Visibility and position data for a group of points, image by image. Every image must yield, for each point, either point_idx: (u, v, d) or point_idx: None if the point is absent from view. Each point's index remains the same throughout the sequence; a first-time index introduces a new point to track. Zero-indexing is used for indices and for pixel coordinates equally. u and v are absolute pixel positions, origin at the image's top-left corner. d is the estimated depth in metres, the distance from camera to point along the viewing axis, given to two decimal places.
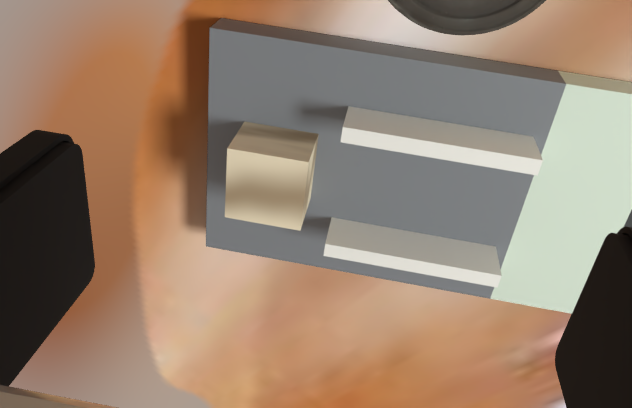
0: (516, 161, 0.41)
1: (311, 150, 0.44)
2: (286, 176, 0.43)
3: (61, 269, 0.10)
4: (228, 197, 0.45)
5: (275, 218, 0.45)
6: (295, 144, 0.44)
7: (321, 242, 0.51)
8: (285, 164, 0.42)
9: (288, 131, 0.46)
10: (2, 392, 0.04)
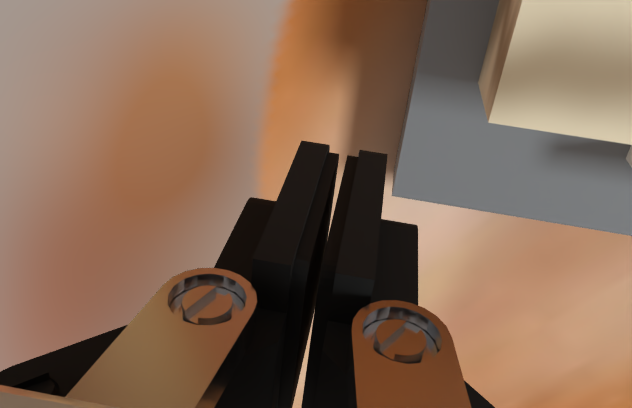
0: None
1: None
2: None
3: (320, 270, 0.11)
4: (505, 79, 0.23)
5: (593, 122, 0.23)
6: None
7: (603, 183, 0.30)
8: None
9: None
10: (2, 392, 0.04)
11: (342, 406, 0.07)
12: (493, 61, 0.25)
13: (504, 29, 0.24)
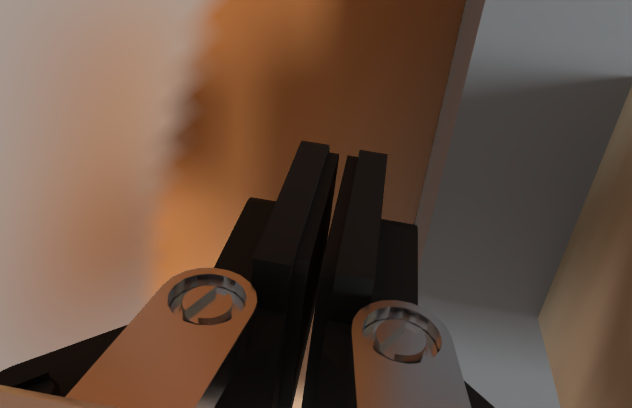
0: None
1: None
2: None
3: (319, 270, 0.11)
4: None
5: None
6: None
7: None
8: None
9: None
10: (2, 392, 0.04)
11: (342, 406, 0.07)
12: (591, 337, 0.11)
13: (631, 291, 0.10)
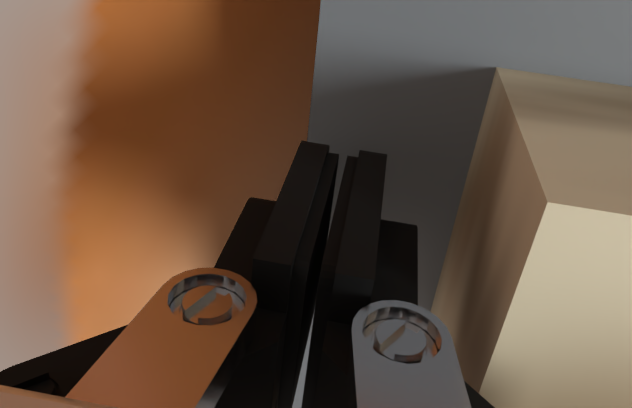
0: None
1: None
2: None
3: (319, 270, 0.11)
4: None
5: None
6: None
7: None
8: None
9: None
10: (2, 392, 0.04)
11: (342, 406, 0.07)
12: (452, 328, 0.11)
13: (475, 281, 0.10)
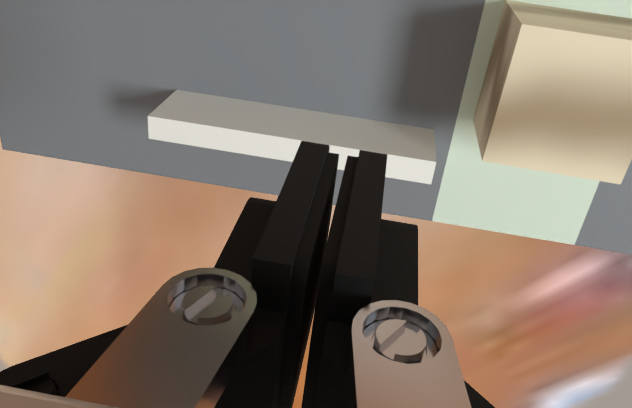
0: None
1: None
2: (625, 78, 0.23)
3: (319, 270, 0.11)
4: (498, 122, 0.25)
5: (579, 162, 0.25)
6: (622, 26, 0.25)
7: None
8: (631, 53, 0.23)
9: (589, 14, 0.26)
10: (3, 392, 0.04)
11: (342, 406, 0.07)
12: (487, 103, 0.27)
13: (497, 74, 0.26)
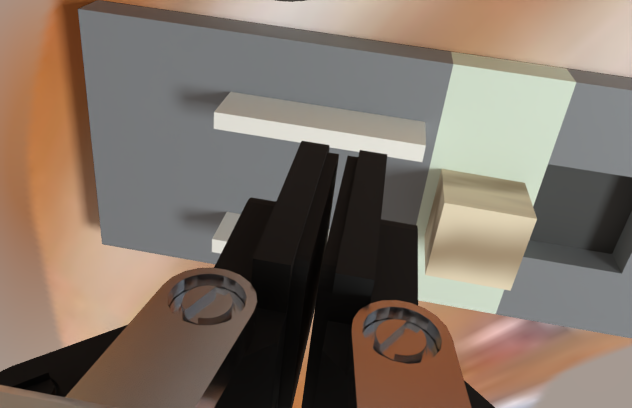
0: (398, 147, 0.38)
1: (530, 203, 0.39)
2: (507, 233, 0.39)
3: (319, 270, 0.11)
4: (434, 254, 0.40)
5: (484, 277, 0.41)
6: (510, 195, 0.40)
7: None
8: (509, 220, 0.38)
9: (493, 181, 0.42)
10: (2, 392, 0.04)
11: (342, 406, 0.07)
12: (430, 234, 0.42)
13: (434, 221, 0.41)
